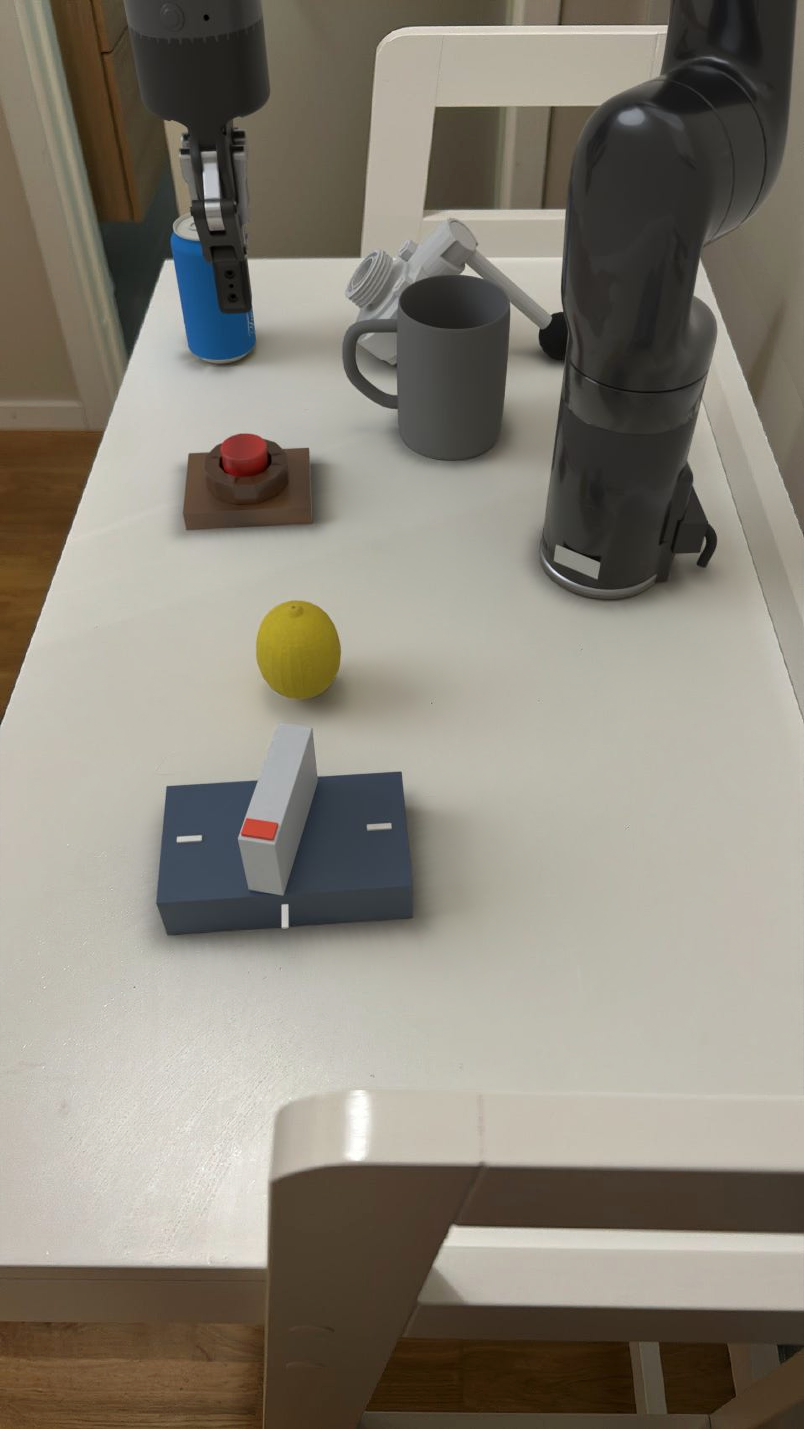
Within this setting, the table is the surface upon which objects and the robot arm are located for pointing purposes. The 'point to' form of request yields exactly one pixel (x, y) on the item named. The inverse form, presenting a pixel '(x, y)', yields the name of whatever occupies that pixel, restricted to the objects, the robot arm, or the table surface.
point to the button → (244, 455)
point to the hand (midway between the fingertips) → (236, 307)
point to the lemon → (298, 649)
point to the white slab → (279, 809)
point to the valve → (438, 255)
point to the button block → (248, 491)
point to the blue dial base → (327, 867)
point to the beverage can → (206, 302)
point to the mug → (444, 364)
